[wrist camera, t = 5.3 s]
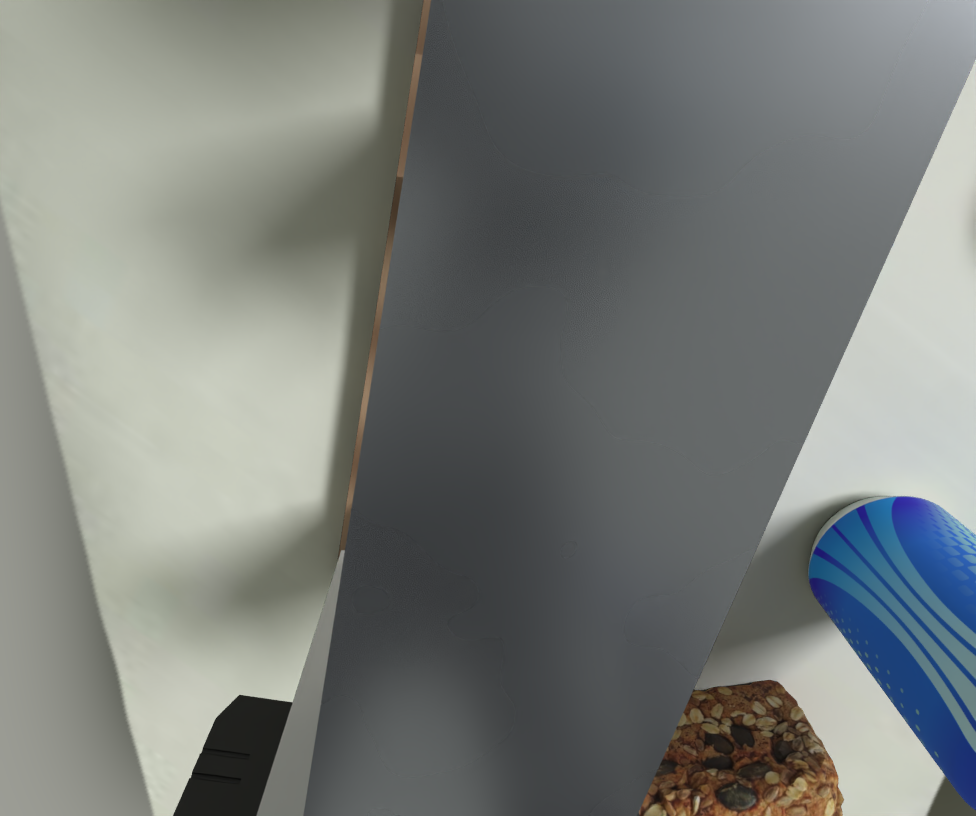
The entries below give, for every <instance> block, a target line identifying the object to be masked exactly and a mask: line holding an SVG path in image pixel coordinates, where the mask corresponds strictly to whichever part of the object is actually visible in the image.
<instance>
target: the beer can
mask: <svg viewBox="0 0 976 816" xmlns="http://www.w3.org/2000/svg"><path fill="white" fill-rule="evenodd" d="M808 578H809V583H810V587H811V590H812V592H813V594H814V596H815V597H816V599H817V600H818V602H819V603H820V605H821V606H822V607H823V609H824V610H825V611H826V613H827V614H828V615H829V617H830V618H831V620H832V621H833V622H834V624H835V625H836V626H837V628H838V629H839V631H840V632H841V633H842V635H843V636H844V637H845V639H846V640H847V641H848V643H849V644H850V646H851V647H852V648H853V650H854V651H855V652H856V654H857V655H858V657H859V658H860V659H861V661H862V662H863V663H864V665H865V666H866V668H867V669H868V670H869V672H870V673H871V674H872V676H873V677H874V678H875V680H876V681H877V683H878V684H879V685H880V687H881V688H882V689H883V691H884V692H885V694H886V695H887V696H888V698H889V699H890V700H891V702H892V703H893V704H894V706H895V707H896V709H897V710H898V711H899V713H900V714H901V715H902V717H903V718H904V720H905V721H906V722H907V724H908V725H909V726H910V728H911V729H912V731H913V732H914V733H915V735H916V736H917V737H918V739H919V740H920V741H921V743H922V744H923V746H924V747H925V748H926V750H927V751H928V752H929V754H930V755H931V757H932V758H933V759H934V761H935V762H936V763H937V765H938V766H939V767H940V769H941V770H942V772H943V773H944V774H945V776H946V777H947V778H948V780H949V781H950V782H951V784H952V785H953V787H954V788H955V789H956V791H957V792H958V793H959V795H960V796H961V797H962V798H963V799H964V800H965V802H966V803H968V804H969V805H970V806H971V807H972V808H973V809H975V810H976V535H975V534H974V533H973V532H971V531H970V530H969V529H968V528H966V527H965V526H964V525H963V524H961V523H960V522H959V521H958V520H956V519H955V518H954V517H953V516H951V515H950V514H949V513H948V512H947V511H945V510H944V509H943V508H941V507H940V506H938V505H936V504H934V503H933V502H930V501H928V500H925V499H922V498H918V497H911V496H879V497H872V498H867V499H863V500H860V501H857V502H855V503H853V504H850V505H849V506H847V507H845V508H843V509H842V510H840V511H839V512H837V513H836V514H835V515H834V516H832V517H831V518H830V519H829V520H828V521H827V522H826V523H825V525H824V526H823V527H822V528H821V530H820V531H819V533H818V535H817V537H816V539H815V541H814V544H813V547H812V552H811V557H810V562H809V568H808Z"/></svg>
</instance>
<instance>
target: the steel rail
mask: <svg viewBox="0 0 976 816" xmlns="http://www.w3.org/2000/svg"><path fill="white" fill-rule="evenodd" d="M975 60H976V0H431V4H430V10H429V17H428V23H427V29H426V36H425V42H424V48H423V55H422V61H421V68H420V74H419V80H418V87H417V93H416V100H415V106H414V112H413V119H412V125H411V131H410V138H409V144H408V151H407V157H406V163H405V170H404V176H403V183H402V189H401V195H400V202H399V208H398V214H397V221H396V227H395V234H394V240H393V246H392V253H391V259H390V265H389V272H388V278H387V285H386V291H385V297H384V304H383V310H382V317H381V323H380V329H379V336H378V342H377V348H376V355H375V361H374V368H373V374H372V380H371V387H370V393H369V400H368V406H367V412H366V419H365V425H364V431H363V438H362V444H361V451H360V457H359V463H358V470H357V476H356V483H355V489H354V495H353V502H352V508H351V514H350V521H349V527H348V534H347V540H346V546H345V553H344V559H343V565H342V572H341V578H340V585H339V591H338V597H337V604H336V610H335V617H334V623H333V629H332V636H331V642H330V648H329V655H328V661H327V668H326V674H325V680H324V687H323V693H322V700H321V706H320V712H319V719H318V725H317V731H316V738H315V744H314V751H313V757H312V763H311V770H310V776H309V783H308V789H307V795H306V802H305V808H304V814H303V816H637V815H638V813H639V810H640V808H641V806H642V804H643V801H644V799H645V797H646V795H647V792H648V790H649V788H650V786H651V784H652V781H653V779H654V777H655V775H656V772H657V770H658V768H659V766H660V763H661V761H662V759H663V757H664V755H665V752H666V750H667V748H668V746H669V743H670V741H671V739H672V737H673V734H674V732H675V730H676V728H677V725H678V723H679V721H680V719H681V717H682V714H683V712H684V710H685V708H686V705H687V703H688V701H689V699H690V696H691V694H692V692H693V690H694V687H695V685H696V683H697V681H698V679H699V676H700V674H701V672H702V670H703V667H704V665H705V663H706V661H707V658H708V656H709V654H710V652H711V650H712V647H713V645H714V643H715V641H716V638H717V636H718V634H719V632H720V629H721V627H722V625H723V623H724V620H725V618H726V616H727V614H728V612H729V609H730V607H731V605H732V603H733V600H734V598H735V596H736V594H737V591H738V589H739V587H740V585H741V582H742V580H743V578H744V576H745V574H746V571H747V569H748V567H749V565H750V562H751V560H752V558H753V556H754V553H755V551H756V549H757V547H758V545H759V542H760V540H761V538H762V536H763V533H764V531H765V529H766V527H767V524H768V522H769V520H770V518H771V515H772V513H773V511H774V509H775V507H776V504H777V502H778V500H779V498H780V495H781V493H782V491H783V489H784V486H785V484H786V482H787V480H788V477H789V475H790V473H791V471H792V469H793V466H794V464H795V462H796V460H797V457H798V455H799V453H800V451H801V448H802V446H803V444H804V442H805V440H806V437H807V435H808V433H809V431H810V428H811V426H812V424H813V422H814V419H815V417H816V415H817V413H818V410H819V408H820V406H821V404H822V402H823V399H824V397H825V395H826V393H827V390H828V388H829V386H830V384H831V381H832V379H833V377H834V375H835V372H836V370H837V368H838V366H839V364H840V361H841V359H842V357H843V355H844V352H845V350H846V348H847V346H848V343H849V341H850V339H851V337H852V334H853V332H854V330H855V328H856V326H857V323H858V321H859V319H860V317H861V314H862V312H863V310H864V308H865V305H866V303H867V301H868V299H869V297H870V294H871V292H872V290H873V288H874V285H875V283H876V281H877V279H878V276H879V274H880V272H881V270H882V267H883V265H884V263H885V261H886V259H887V256H888V254H889V252H890V250H891V247H892V245H893V243H894V241H895V238H896V236H897V234H898V232H899V229H900V227H901V225H902V223H903V221H904V218H905V216H906V214H907V212H908V209H909V207H910V205H911V203H912V200H913V198H914V196H915V194H916V192H917V189H918V187H919V185H920V183H921V180H922V178H923V176H924V174H925V171H926V169H927V167H928V165H929V162H930V160H931V158H932V156H933V154H934V151H935V149H936V147H937V145H938V142H939V140H940V138H941V136H942V133H943V131H944V129H945V127H946V124H947V122H948V120H949V118H950V116H951V113H952V111H953V109H954V107H955V104H956V102H957V100H958V98H959V95H960V93H961V91H962V89H963V87H964V84H965V82H966V80H967V78H968V75H969V73H970V71H971V69H972V66H973V64H974V62H975Z"/></svg>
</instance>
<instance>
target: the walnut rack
mask: <svg viewBox="0 0 976 816" xmlns="http://www.w3.org/2000/svg"><path fill="white" fill-rule="evenodd" d="M430 4H431V0H424V1H423V8H422V14H421V21H420V27H419V34H418V40H417V47H416V53H415V59H414V66H413V73H412V79H411V86H410V92H409V99H408V105H407V112H406V118H405V125H404V131H403V138H402V144H401V151H400V157H399V164H398V170H397V177H396V184H395V190H394V197H393V203H392V210H391V216H390V223H389V229H388V236H387V242H386V249H385V255H384V262H383V268H382V275H381V281H380V288H379V294H378V301H377V307H376V314H375V320H374V327H373V333H372V340H371V346H370V353H369V359H368V366H367V372H366V379H365V385H364V392H363V398H362V405H361V411H360V418H359V424H358V431H357V437H356V444H355V450H354V457H353V463H352V470H351V476H350V483H349V489H348V496H347V502H346V509H345V515H344V522H343V528H342V535H341V542H340V548H339V555H338V559H339V556H340V553H341V550H344V551H345V546H346V540H347V534H348V527H349V521H350V514H351V508H352V502H353V495H354V489H355V483H356V476H357V470H358V463H359V457H360V451H361V444H362V438H363V431H364V425H365V419H366V412H367V406H368V400H369V393H370V387H371V380H372V374H373V368H374V361H375V355H376V348H377V342H378V336H379V329H380V323H381V317H382V310H383V304H384V297H385V291H386V285H387V278H388V272H389V265H390V259H391V253H392V246H393V240H394V234H395V227H396V221H397V214H398V208H399V202H400V195H401V189H402V183H403V176H404V170H405V163H406V157H407V151H408V144H409V138H410V131H411V125H412V119H413V112H414V106H415V100H416V93H417V87H418V80H419V74H420V68H421V61H422V55H423V48H424V42H425V36H426V29H427V23H428V17H429V10H430ZM337 562H338V561H337Z"/></svg>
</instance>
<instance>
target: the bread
mask: <svg viewBox="0 0 976 816" xmlns="http://www.w3.org/2000/svg"><path fill="white" fill-rule="evenodd" d="M843 801H844V799H843V796H842V794H841V792H840V790H839V788H838V775H837V772H836V769H835V767H834V764H833V761H832V759H831V758H830V756H829V755H828V753H827V751H826V750H825V747H824V745H823V743H822V741H821V740H820V739H819V738H818V737H817V736H816V734H815V732H814V730H813V728H812V726H811V725H810V723H809V722H808V720H807V718H806V716H805V714H804V712H803V710H802V709H801V708H800V707H799V706H798V704H797V701H796V700H795V699H794V698H793V697H792V696H791V695H790V694H789V693H788V692H787V691H786V690H785V689H784V687H783V686H782V685H781V684H780V683H779V682H774V681H772V680H765V681H757V682H753V683H752V684H751V685H738V686H728V687H714V688H710V689H708V690H706V691H701V690H693V692H692V694H691V696H690V699H689V701H688V703H687V705H686V708H685V710H684V712H683V714H682V717H681V719H680V721H679V723H678V725H677V728H676V730H675V732H674V734H673V737H672V739H671V741H670V743H669V746H668V748H667V750H666V752H665V755H664V757H663V759H662V761H661V763H660V766H659V768H658V770H657V772H656V775H655V777H654V779H653V781H652V784H651V786H650V788H649V790H648V792H647V795H646V797H645V799H644V801H643V804H642V806H641V808H640V810H639V815H640V816H842V809H841V805H842V803H843Z"/></svg>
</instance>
